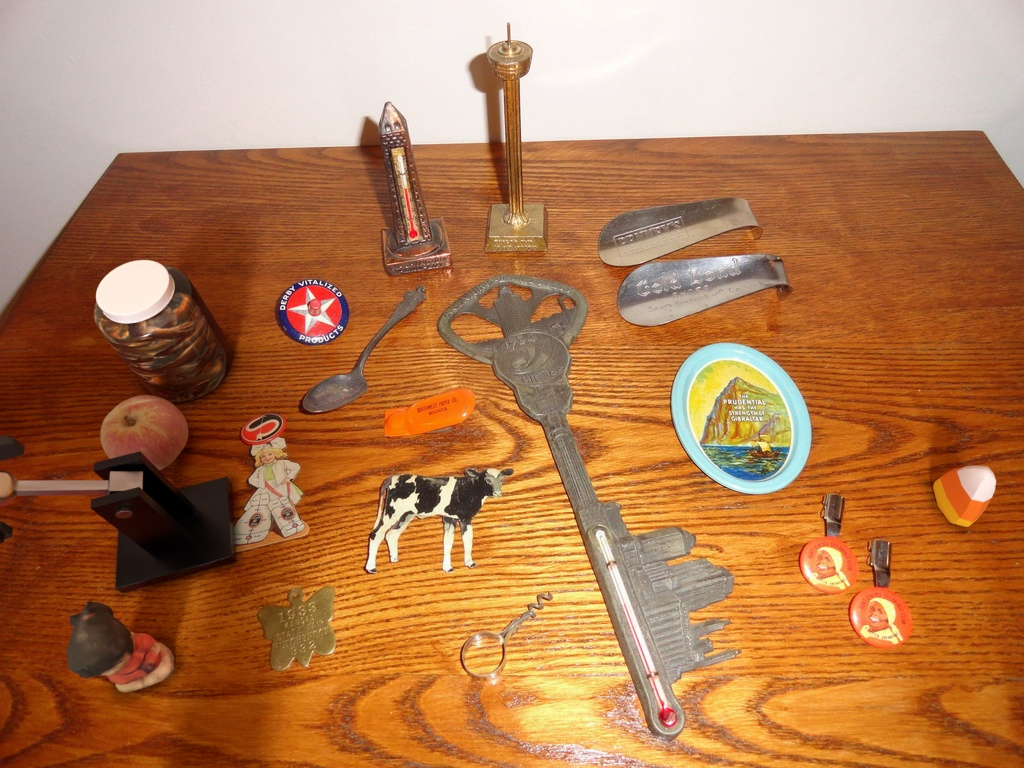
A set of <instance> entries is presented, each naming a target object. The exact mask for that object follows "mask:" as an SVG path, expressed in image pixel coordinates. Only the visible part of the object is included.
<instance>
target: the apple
mask: <svg viewBox="0 0 1024 768" xmlns="http://www.w3.org/2000/svg"><path fill="white" fill-rule="evenodd" d="M188 438H189V426H188V422H187V420H186V417H185V416H184V414H183V413H182V412H181V410H180V409H179V408H178V407H177V406H176V405H174V403H173V402H169V401H167V400H165V399H162V398H160V397H156V396H154V395H153V394H141V395H135V396H133V397H130V398H127V399H125V400H123V401H121V402H120V403H119V404H118V405H116V406H115V407H114V408H113V409H112V410H111V411H109V413H108V414H107V415H106V416H105V417H104V419H103V421H102V423H101V427H100V444H101V446H102V447H101V448H102V449H103V451H104V453H105V454H106V456H107V457H108V459H111V458H115V457H119V456H123V455H127V454H131V453H135V452H139V451H141V452H142V453H143V454H144V455H145V456H146V457H147V458H148V459H149V460H150V461H151V462H152V463H153V464H154V465H155V466H156V467H157V468H158V470H159V471H161V470H164V468H166V467H168V466H169V465H171V464H172V463H173V462H174V461H175V460H176V459H177V457H178V456H179V455H180V454H181V453H182V451H183V450H184V449H185V446H186V445H187V442H188Z"/></svg>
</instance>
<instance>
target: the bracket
mask: <svg viewBox="0 0 1024 768" xmlns="http://www.w3.org/2000/svg"><path fill="white" fill-rule="evenodd" d="M110 471H143V490H142V489H141V488H140V487H136V488H133V489H129V490H125V491H121V492H117V493H113V494H109V495H101V496H99V497H94V498H91V499H90V510H92V511H93V512H94V513H96V514H97V515H98V516H99V517H101V518H102V519H103V520H105V521H106V522H107V523H108V524H110V525H111V526H112V527H114V528H115V529H116V530H117V545H116V547H117V548H116V565H115V566H116V568H115V587H114V588H115V590H116V591H118V592H119V593H121V594H125V593H129V592H132V591H135V590H139V589H143V588H146V587H150V586H153V585H157V584H161V583H164V582H168V581H172V580H176V579H179V578H183V577H187V576H190V575H193V574H197V573H201V572H204V571H208V570H212V569H215V568H219V567H223V566H225V565H231V564H233V563H236V562H237V551H236V550H237V549H236V535H235V534H236V533H235V517H234V516H235V515H234V497H233V482H232V481H231V480H230V478H229V477H228V476H223V477H220V478H216V479H212V480H208V481H204V482H200V483H197V484H193V485H190V486H185V487H180V488H178V487H176V485H175V484H173V482H172V481H171V480H170V479H169V478H168V477H167V476H166V475H164V473H163V472H162V471H161V470H158V468H157V467H156V466H155V465H154V464H153V463H152V462H151V461H150V460H149V459H148V458H147V457H146V456H145V455H144V454H143V453H142V452H141V451H139V452H135V453H131V454H127V455H123V456H119V457H115V458H111V459H110V458H108V459H103V460H100V461H96V462H93V473H94V474H96V475H97V476H98V477H99V478H101V480H109V476H110Z"/></svg>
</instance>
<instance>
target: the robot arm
mask: <svg viewBox="0 0 1024 768" xmlns="http://www.w3.org/2000/svg"><path fill="white" fill-rule="evenodd" d="M25 449H26V446H25V445H24V444H23V443H22V442H20V441H19V440H18V439H16V438H14V437H12V436H10V435H0V461H5V460H9V459H13V458H16V457H21V456H23V455H24V454H25ZM13 533H14V527H13V526H11V525H9V524H7V523H6V522H4V521H2V520H0V545H2V544H3V543H4V542H5V540H7V539H11V538H12V537H13Z"/></svg>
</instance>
